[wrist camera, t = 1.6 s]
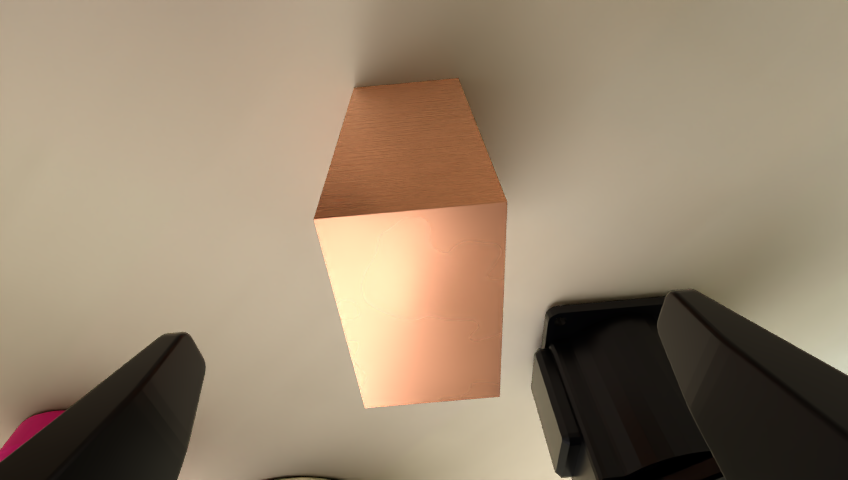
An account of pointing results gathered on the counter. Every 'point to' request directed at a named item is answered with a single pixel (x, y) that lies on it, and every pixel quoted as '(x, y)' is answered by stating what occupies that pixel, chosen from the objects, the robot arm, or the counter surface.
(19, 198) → the counter surface
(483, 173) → the tall wooden block
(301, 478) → the coffee can
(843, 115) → the counter surface
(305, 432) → the counter surface
